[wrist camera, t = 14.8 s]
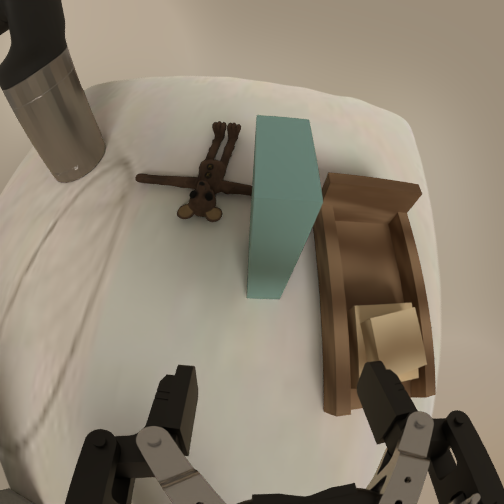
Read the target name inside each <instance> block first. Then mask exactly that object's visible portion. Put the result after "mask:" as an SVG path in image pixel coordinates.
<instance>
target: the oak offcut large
mask: <svg viewBox="0 0 504 504" xmlns="http://www.w3.org/2000/svg"><path fill="white" fill-rule="evenodd" d="M410 308H412V302H411V303H397V304H380V305H359V306H353V307H352V308H351V309H349V310H348V311H347V322H348V336H349V353H350V380H351V389H357V383H358V381H359V378H360V375H361V373H362V370H363V367H364V365H365V363H366V362H368V361H367V355H366V350H365V345H364V340H363V335H362V330H361V325H360V323H362V322H364V321H366V320H368V319H370V318H374V317H378V316H382V315H386V314H390V313H394V312H398V311H402V310H406V309H410ZM398 377H399V379H400V381H401V382H402V381H407V380H412V379H416V378H419V373H418V368H417V369H414V370H412V371H409V372H407V373H404V374H401V375H399V376H398Z"/></svg>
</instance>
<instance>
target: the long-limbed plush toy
mask: <svg viewBox="0 0 504 504" xmlns="http://www.w3.org/2000/svg"><path fill="white" fill-rule="evenodd" d="M212 128H213V131H214V134H215V139H214V140H213V141H212V145H211V147H210V148H209V152H208V154H207V156H206V159H205V160H204V161H202V162H201V164H200V166H199V175H198V177H181V176H158V175H148V174H138V175H136V181H137V182H140V183H148V184H159V185H170V186H177V187H181V188H192V189H195V190H194V191H192V192H191V193H190V200H189V203H188V204H185V205H183V206H181V207H180V208H179V210H178V211H177V216H178V217H179V218H182V219H188V218H190V217H192V216H193V215H196V216H199V217H206V219H207V220H208V221H211V222H216V221H218V220H220V219H221V217H222V211H221V209H219V208H217V207H215V206H216V198H215V194H217V193H220V192H223V193H225V194H242V195H250V196H252V186H250V185H245V184H240V183H234V182H229V181H224V180H223V178H224V176H225V172H226V168H227V165H228V162H229V159H230V157H231V154H232V151H233V150H234V147H235V146H234V145H235V142H236V141H237V139H238V134H239V132H240V130H241V125H240V124H238V125H236V123H229V124H228V126H227V131H228V142H227V144H226V146H225V148H224V152H223V155H222V157H221V160H220V161H218V160H214V158H215V156H216V154H217V151H218V149H219V147H220V144H221V142H222V140H223V139H224V137H225V130H226V123H225V122H223V123H221V122H220V121H219V122H214V123H213V126H212Z"/></svg>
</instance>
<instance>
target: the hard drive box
mask: <svg viewBox="0 0 504 504" xmlns="http://www.w3.org/2000/svg"><path fill="white" fill-rule="evenodd" d="M0 504H34V503H32V502H31V501H29V500H27V499H25V498H24V497H22V496H21V495H19V494H17V493H16V492H14V491H13V490H11V489H5V490H0Z"/></svg>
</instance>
